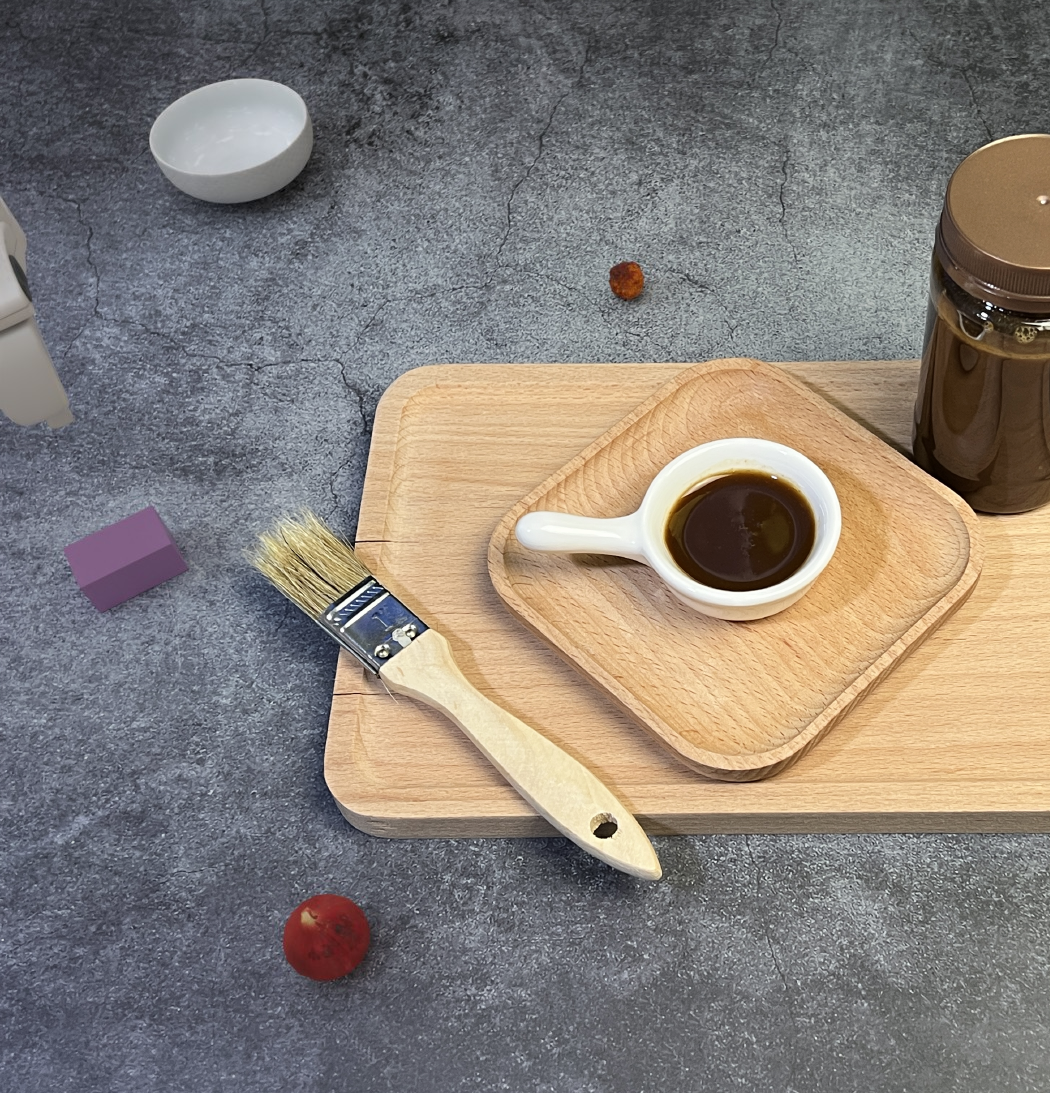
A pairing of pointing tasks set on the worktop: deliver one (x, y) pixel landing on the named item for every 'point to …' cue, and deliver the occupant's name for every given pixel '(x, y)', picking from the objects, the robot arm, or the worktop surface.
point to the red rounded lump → (326, 937)
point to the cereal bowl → (233, 140)
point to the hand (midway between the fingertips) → (46, 379)
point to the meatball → (626, 279)
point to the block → (125, 559)
